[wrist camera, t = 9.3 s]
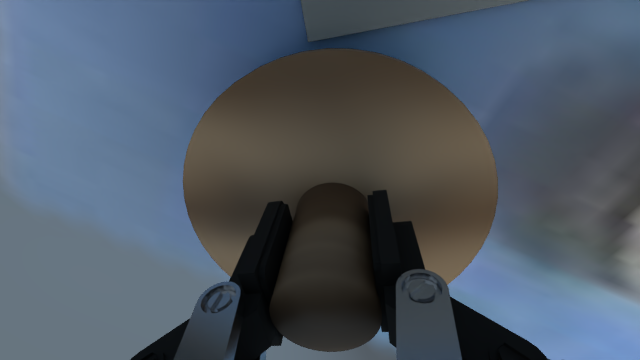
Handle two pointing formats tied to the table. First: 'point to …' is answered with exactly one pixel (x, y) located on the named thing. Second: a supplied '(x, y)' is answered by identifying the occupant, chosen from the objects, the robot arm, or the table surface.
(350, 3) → the slate mat
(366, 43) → the table surface
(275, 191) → the walnut lid
